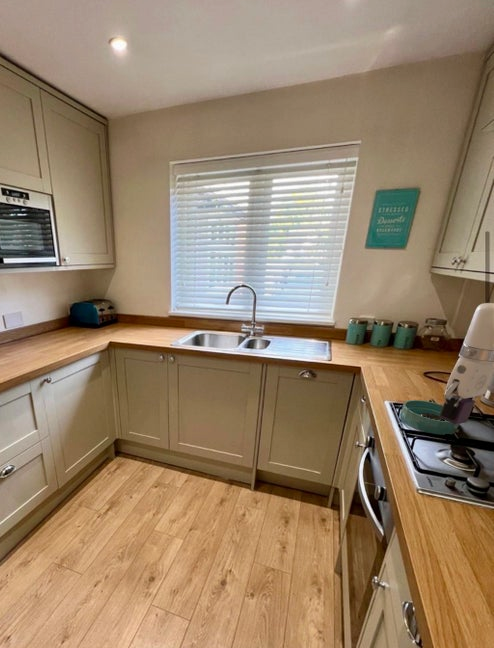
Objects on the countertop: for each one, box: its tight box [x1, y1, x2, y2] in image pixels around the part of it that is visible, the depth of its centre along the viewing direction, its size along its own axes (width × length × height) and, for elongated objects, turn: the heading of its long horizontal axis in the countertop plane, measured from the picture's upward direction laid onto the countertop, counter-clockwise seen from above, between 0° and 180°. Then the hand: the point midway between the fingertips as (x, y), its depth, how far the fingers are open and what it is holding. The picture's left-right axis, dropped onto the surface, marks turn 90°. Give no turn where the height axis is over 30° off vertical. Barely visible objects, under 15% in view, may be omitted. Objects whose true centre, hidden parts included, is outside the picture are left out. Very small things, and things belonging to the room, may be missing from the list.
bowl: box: [399, 399, 460, 436], centre depth 106 cm, size 15×15×5 cm
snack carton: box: [439, 396, 476, 425], centre depth 90 cm, size 4×4×6 cm
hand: (454, 415), depth 91 cm, fingers closed on snack carton, 4 cm apart
